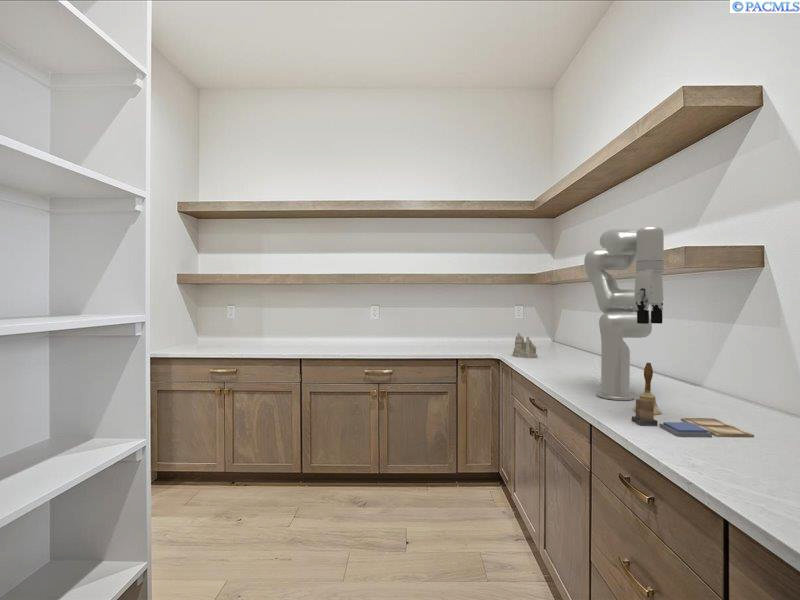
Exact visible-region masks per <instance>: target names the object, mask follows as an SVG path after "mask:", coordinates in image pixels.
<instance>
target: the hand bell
mask: <svg viewBox="0 0 800 600" xmlns="http://www.w3.org/2000/svg"><path fill="white" fill-rule="evenodd" d="M653 370H654V369H653V367H652V363H651V362H646V364H645V367H644V369H643V378H644V381H645V383H644V392H643V393H640V394H639V397H638V399H649V400H652V401H654V416H657V415H661V414H663V413H662V412H663V411H662V410H660V408H659V407H658V404H657V401H656V396H655V395H654V394H653V393H652V391H651V390H652V389H651V385H652V384H651V383H652V380H653V375H654V371H653ZM632 411H633V412H635V413H636V406H634V407H633V408H632Z"/></svg>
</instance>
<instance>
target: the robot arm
mask: <svg viewBox="0 0 800 600" xmlns="http://www.w3.org/2000/svg"><path fill="white" fill-rule="evenodd" d="M664 234H665V233H664V230H663V229H662V227H659V226H646V227H641V228H639V229H636V228H635V229H634V228H630V229H629V228H625V229H624V228H622V229H620V228H619V229H617V228H616V229H609V230H606V231H604V232H603V233H602V234H601V236H600V238H599V245H600V247H602V248H598V249H597V248H596V249H592V250H590V251H588V252H586V254H585V256H584V261H583V262H584V270H585V273H586V275H587V278H588V280H589V281H590V283H591V285H592V286H593V290H594V294H595V297H596V302H597V305H598V308H599V310H600V311H601V312H602V314H601V315H600V317H599V319H598V326H599V333H600V342H601V346H600V347H601V353H600V354H601V356H600V357H601V360H600V367H601V368H600V369H601V370H600V372H601V373H600V375H601V376H600V390H597V391H596V392H595V394H596V396H597V397H599V398H601V399H607V400H613V401H631V400H634V399H635V395H634V394H633V393H630V380H631V379H630V378H631V377H630V375H631V374H630V372H631V371H630V368H631V365H630V362H631V360H630V359H631V355H630V354H631V351H630V347H629V345H627V343H626V341H624V338H625V339H627V338H632V339H633V338H635V339H637V338H638V339H639V338H640V339H641V338H647V337H648V336H650V335H651V333H652V329H653V326H652V325H653V324H663V311H664V310H663V309H664V307H663V306H664V302H663V301H664V285H663V284H664V282H663V274H662V273H664V272H665V270H664V269H665V267H664V266H665V265H664V264H665V263H664V255H665V252H664V251H665V250H664V248H665V247H664V245H665V244H664V243H665V242H664V240H665V239H664V238H665V237H664ZM634 263H635V273H636V274H635V281H634V289H621V288H619V286H618V283H617V280H616V278H614V277H613V275H612V274H610V273H609V272H607V271H626V270H629V269H630V268H631V267H632V266H633V264H634ZM649 306H650V307H651V310H650V311H649V310H648V309H649Z"/></svg>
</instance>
